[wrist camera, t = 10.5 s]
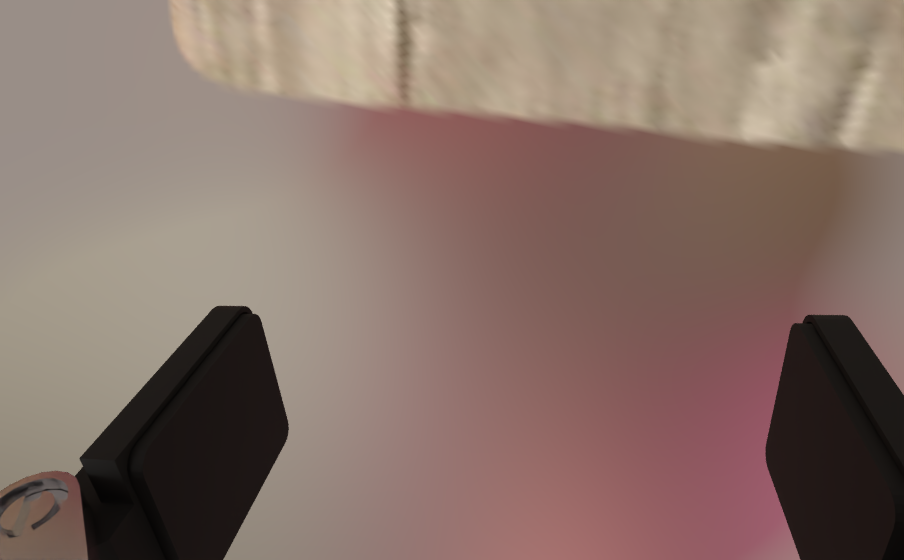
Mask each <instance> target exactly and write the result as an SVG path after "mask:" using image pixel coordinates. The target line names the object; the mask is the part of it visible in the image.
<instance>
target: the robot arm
mask: <svg viewBox="0 0 904 560" xmlns="http://www.w3.org/2000/svg"><path fill="white" fill-rule="evenodd" d="M288 430H289V427H288V420H287V416H286V412H285V408H284V405H283V401H282V397H281V393H280V390H279V386H278V382H277V379H276V375H275V371H274V367H273V363H272V360H271V356H270V352H269V348H268V345H267V341H266V337H265V333H264V330H263V327H262V322H261V319H260V317H259V316H258V315H256V314H252V311H251V310H250V309H249V308H248V307H246V306H217V307H215V308H213V309H212V310H211V311H210V313H209V314H208V315H207V316H206V317H205V318H204V320H202V322H201V323H200V324H199V325H198V326H197V327H196V328H195V329H194V331H193V332H192V333H191V334H190V335H189V336H188V337H187V338H186V339H185V341H184V342H183V343H182V344H181V345H180V346H179V347H178V348H177V350H176V351H175V352H174V353H173V354H172V355H171V356H170V357H169V359H168V360H167V361H166V362H165V363H164V364H163V365H162V366H161V367H160V369H159V370H158V371H157V372H156V373H155V374H154V375H153V377H152V378H151V379H150V380H149V381H148V382H147V383H146V384H145V385H144V387H143V388H142V389H141V390H140V391H139V392H138V393H137V394H136V396H135V397H134V398H133V399H132V400H131V401H130V402H129V404H127V406H126V407H125V408H124V409H123V410H122V411H121V412H120V413H119V415H118V416H117V417H116V418H115V419H114V420H113V421H112V422H111V424H110V425H109V426H108V427H107V428H106V429H105V430H104V432H102V434H101V435H100V436H99V437H98V438H97V439H96V440H95V441H94V443H93V444H92V445H91V446H90V447H89V448H88V449H87V451H86V452H85V453H84V454H83V455H82V456H81V457H80V461H81V463H82V465H83V467H82V469H81V470H80V471H79V472H78V473H77V474H76V475H75V476H73V475H71V474H70V473H68V472H62V471H49V472H41V473H38V474H35V475H31V476H28V477H25V478H23V479H21V480H19V481H17V482H15V483H13V484H10V485H9V486H7V487H6V488H4V489H3V490H1V491H0V560H223V559H224V557H225V555H226V553H227V551H228V549H229V548H230V546H231V544H232V542H233V540H234V538H235V536H236V534H237V533H238V531H239V529H240V527H241V525H242V523H243V521H244V519H245V518H246V516H247V514H248V512H249V510H250V508H251V506H252V504H253V502H254V501H255V499H256V497H257V495H258V493H259V491H260V489H261V487H262V486H263V484H264V482H265V480H266V478H267V476H268V474H269V472H270V470H271V468H272V466H273V464H274V463H275V461H276V459H277V457H278V455H279V454H280V452H281V450H282V448H283V446H284V444H285V442H286V440H287V436H288ZM766 462H767V467H768V470H769V473H770V476H771V478H772V481H773V484H774V487H775V490H776V492H777V495H778V498H779V501H780V503H781V506H782V509H783V512H784V514H785V517H786V520H787V523H788V526H789V529H790V531H791V534H792V537H793V540H794V543H795V545H796V548H797V551H798V554H799V556H800V559H801V560H904V395H903V394H902V392H901V391H900V389H899V388H898V387H897V385H896V383H895V382H894V381H893V379H892V378H891V376H890V375H889V373H888V372H887V370H886V369H885V368H884V366H883V365H882V363H881V362H880V360H879V359H878V357H877V356H876V355H875V353H874V352H873V350H872V349H871V347H870V346H869V345H868V343H867V342H866V340H865V339H864V337H863V336H862V334H861V333H860V331H859V330H858V329H857V327H856V326H855V324H854V323H853V321H852V320H851V319H850V318H849V317H848V316H845V315H808V316H806V317H805V319H804V321H803V323H800V324H799V323H798V324H797V323H795V324H793V325H792V327H791V330H790V334H789V339H788V343H787V348H786V353H785V358H784V362H783V367H782V372H781V376H780V381H779V386H778V391H777V395H776V400H775V405H774V410H773V414H772V419H771V424H770V429H769V433H768V439H767V443H766Z"/></svg>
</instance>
